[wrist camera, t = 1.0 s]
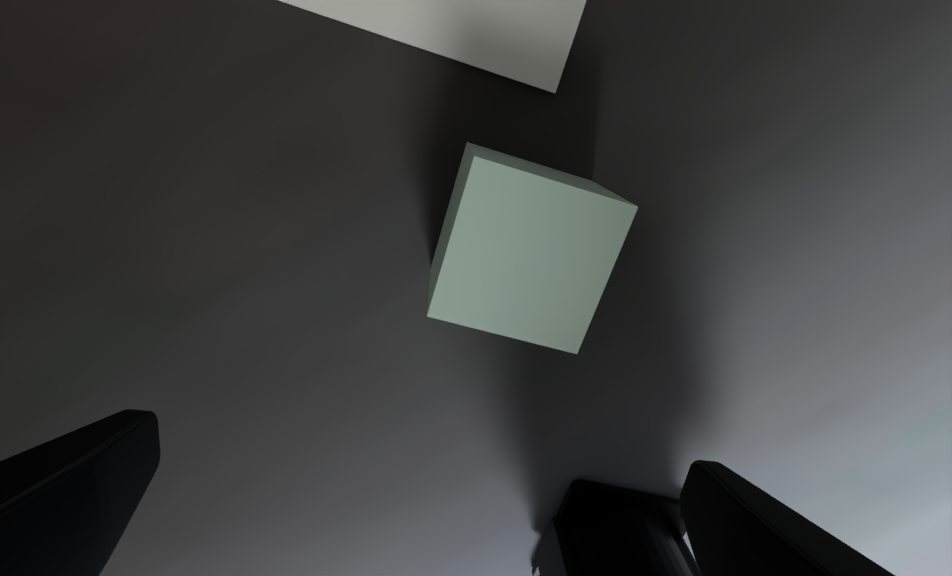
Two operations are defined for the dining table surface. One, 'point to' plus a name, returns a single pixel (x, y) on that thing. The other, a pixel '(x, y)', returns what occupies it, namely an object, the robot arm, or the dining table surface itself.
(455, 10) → the white flat rectangular panel
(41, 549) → the robot arm
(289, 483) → the dining table surface
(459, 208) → the sage block
